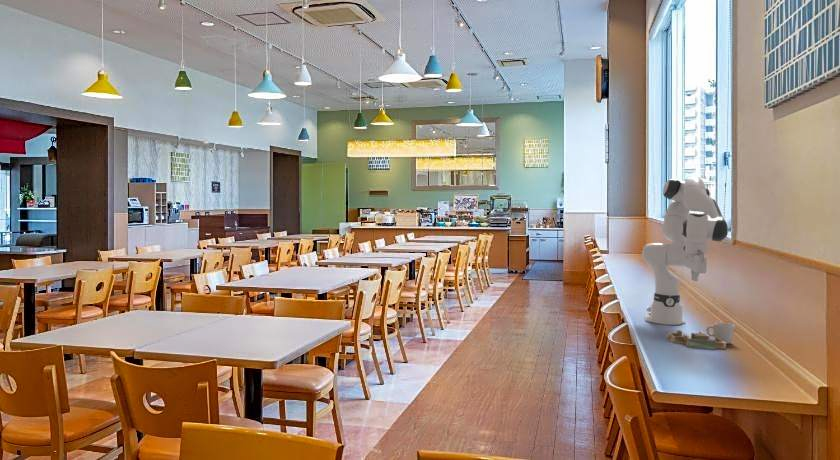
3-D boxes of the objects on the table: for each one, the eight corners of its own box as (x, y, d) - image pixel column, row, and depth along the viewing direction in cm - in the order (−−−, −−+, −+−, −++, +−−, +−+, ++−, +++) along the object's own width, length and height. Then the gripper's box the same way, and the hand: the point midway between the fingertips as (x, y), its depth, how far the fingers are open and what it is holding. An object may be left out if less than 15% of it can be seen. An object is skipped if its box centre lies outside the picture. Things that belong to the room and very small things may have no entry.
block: (690, 344, 270) (691, 332, 270) (702, 345, 270) (703, 333, 269) (694, 347, 265) (695, 335, 265) (707, 348, 265) (708, 336, 264)
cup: (705, 342, 275) (706, 323, 275) (706, 339, 282) (707, 320, 282) (733, 345, 270) (734, 327, 270) (734, 342, 277) (735, 323, 277)
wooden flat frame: (666, 337, 282) (666, 329, 282) (712, 339, 280) (712, 332, 280) (677, 346, 265) (678, 338, 264) (727, 349, 262) (727, 341, 262)
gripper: (711, 252, 269) (709, 284, 270) (696, 246, 289) (695, 276, 291) (695, 252, 270) (694, 284, 271) (682, 246, 290) (680, 276, 291)
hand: (694, 280), depth 281 cm, fingers closed
